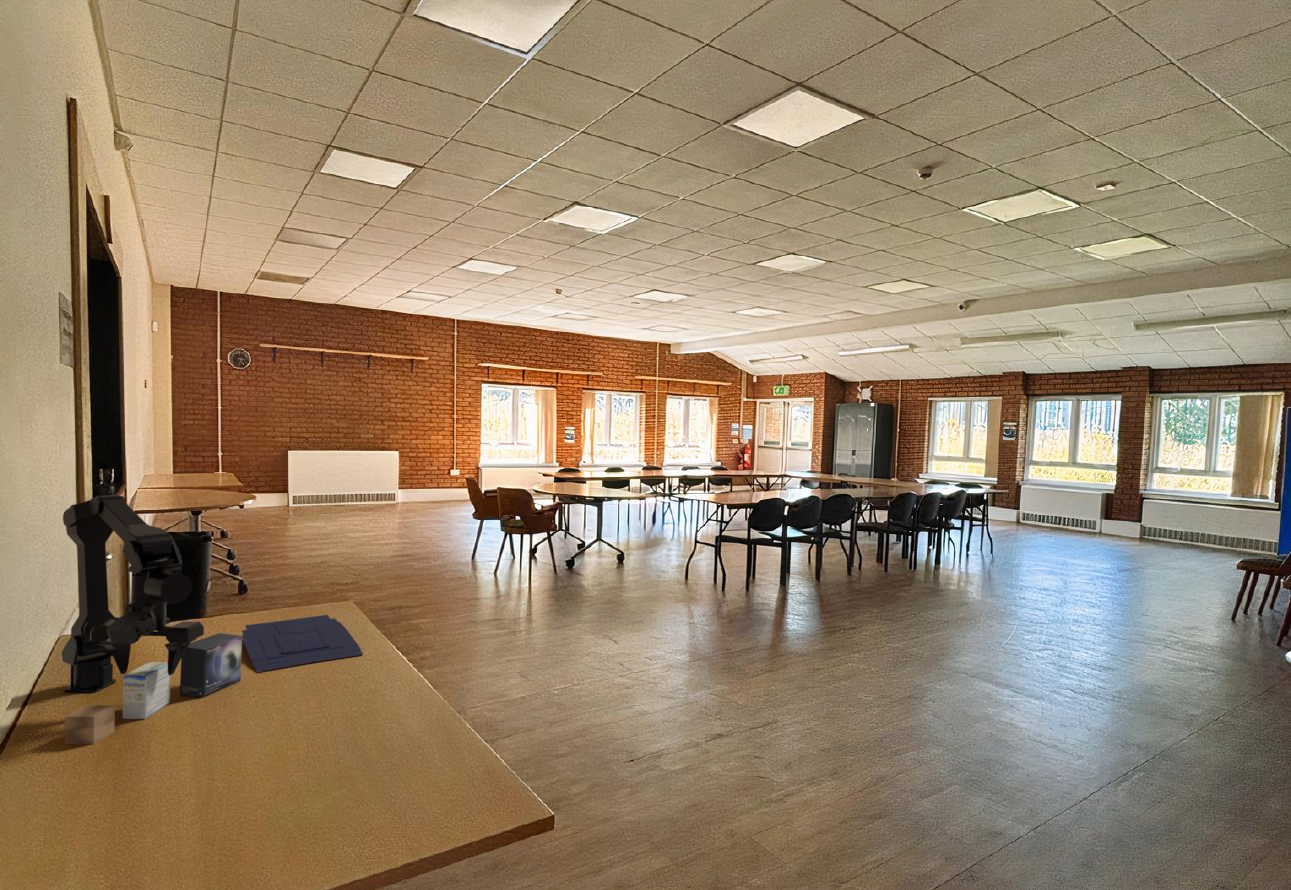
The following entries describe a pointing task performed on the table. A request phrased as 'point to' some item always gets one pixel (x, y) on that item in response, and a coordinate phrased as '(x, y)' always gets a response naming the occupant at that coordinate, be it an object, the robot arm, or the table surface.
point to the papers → (298, 642)
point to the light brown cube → (89, 724)
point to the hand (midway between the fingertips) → (147, 674)
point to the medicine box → (146, 690)
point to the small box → (211, 665)
